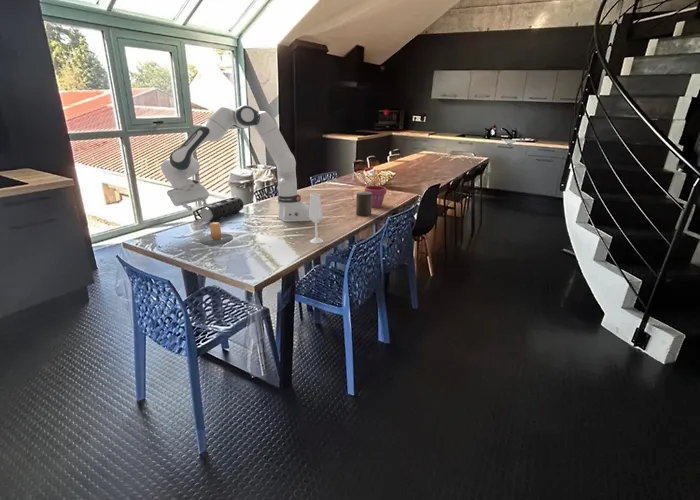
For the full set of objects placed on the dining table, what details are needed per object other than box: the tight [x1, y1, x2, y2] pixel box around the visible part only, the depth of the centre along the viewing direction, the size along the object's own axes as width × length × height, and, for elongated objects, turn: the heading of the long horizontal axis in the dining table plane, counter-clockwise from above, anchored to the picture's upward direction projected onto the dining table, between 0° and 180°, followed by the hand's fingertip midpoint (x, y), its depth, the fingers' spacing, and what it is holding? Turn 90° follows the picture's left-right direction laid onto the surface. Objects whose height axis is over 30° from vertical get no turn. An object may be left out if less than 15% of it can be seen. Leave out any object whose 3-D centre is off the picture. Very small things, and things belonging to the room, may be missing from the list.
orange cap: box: [209, 221, 222, 240], centre depth 194 cm, size 5×5×8 cm
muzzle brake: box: [200, 196, 244, 223], centre depth 230 cm, size 10×28×10 cm, turn 155°
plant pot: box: [364, 185, 387, 209], centre depth 254 cm, size 14×14×13 cm
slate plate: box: [199, 232, 234, 246], centre depth 196 cm, size 16×16×1 cm
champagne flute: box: [308, 193, 324, 244], centre depth 188 cm, size 7×7×24 cm
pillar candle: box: [355, 190, 372, 217], centre depth 236 cm, size 10×10×15 cm
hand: (198, 207), depth 195 cm, fingers open, 8 cm apart
